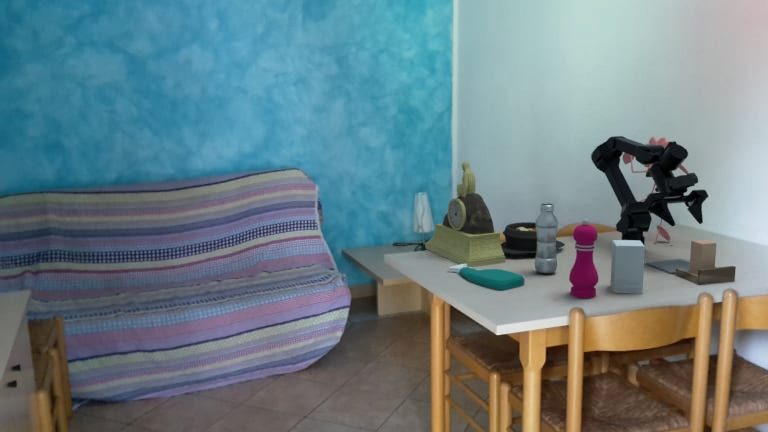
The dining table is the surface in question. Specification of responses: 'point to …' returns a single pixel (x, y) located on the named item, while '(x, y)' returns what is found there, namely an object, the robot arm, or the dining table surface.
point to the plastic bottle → (546, 239)
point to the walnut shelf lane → (709, 275)
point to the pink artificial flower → (629, 158)
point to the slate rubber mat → (670, 265)
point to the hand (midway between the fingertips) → (687, 224)
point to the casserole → (522, 239)
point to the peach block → (702, 255)
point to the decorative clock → (467, 228)
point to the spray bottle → (490, 277)
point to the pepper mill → (584, 262)
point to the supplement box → (627, 266)
